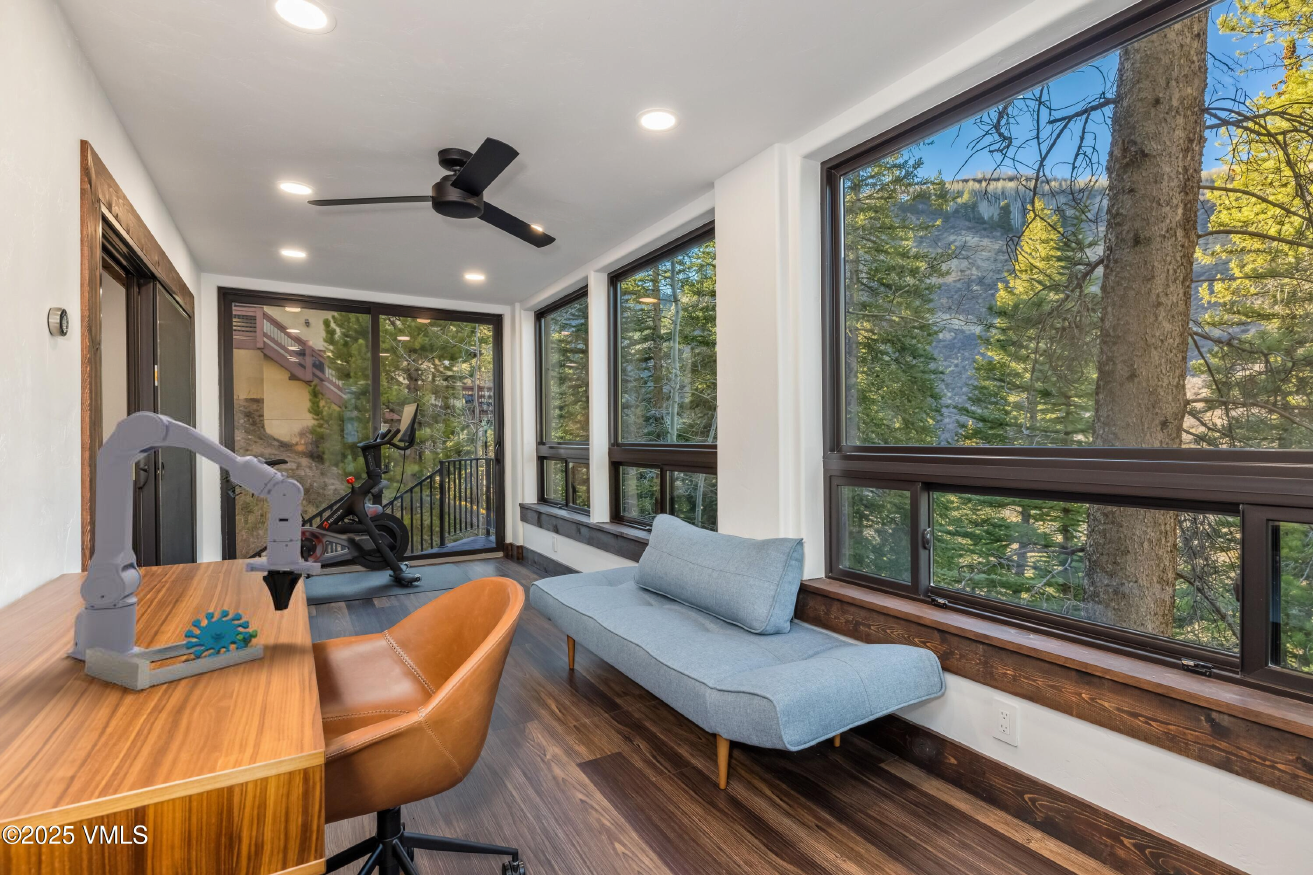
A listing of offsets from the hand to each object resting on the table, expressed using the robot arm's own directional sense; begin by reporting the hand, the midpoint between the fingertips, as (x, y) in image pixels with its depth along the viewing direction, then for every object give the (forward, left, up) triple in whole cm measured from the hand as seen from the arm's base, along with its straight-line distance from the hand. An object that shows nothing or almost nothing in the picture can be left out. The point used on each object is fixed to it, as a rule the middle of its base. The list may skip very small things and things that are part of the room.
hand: (281, 609), depth 125 cm
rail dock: (0, -18, -6) cm, 19 cm away
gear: (0, -11, -6) cm, 13 cm away
